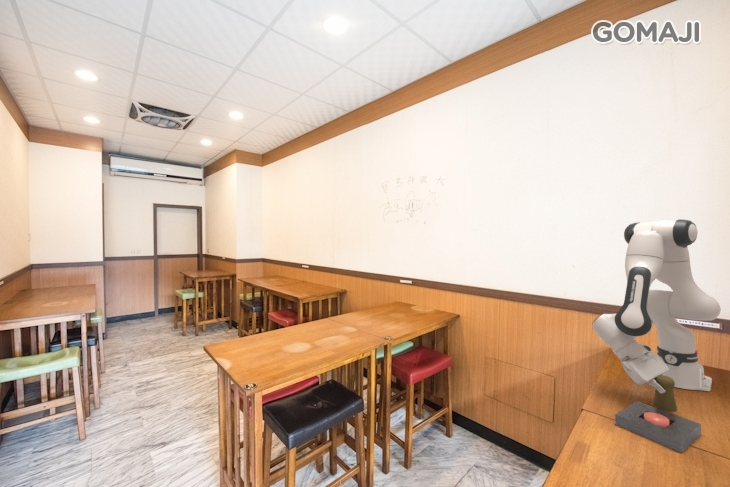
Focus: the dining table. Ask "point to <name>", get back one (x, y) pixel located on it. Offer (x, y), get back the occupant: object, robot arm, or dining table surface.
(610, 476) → the dining table surface
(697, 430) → the switch box
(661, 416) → the button
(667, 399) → the olive pepper mill
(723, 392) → the dining table surface
